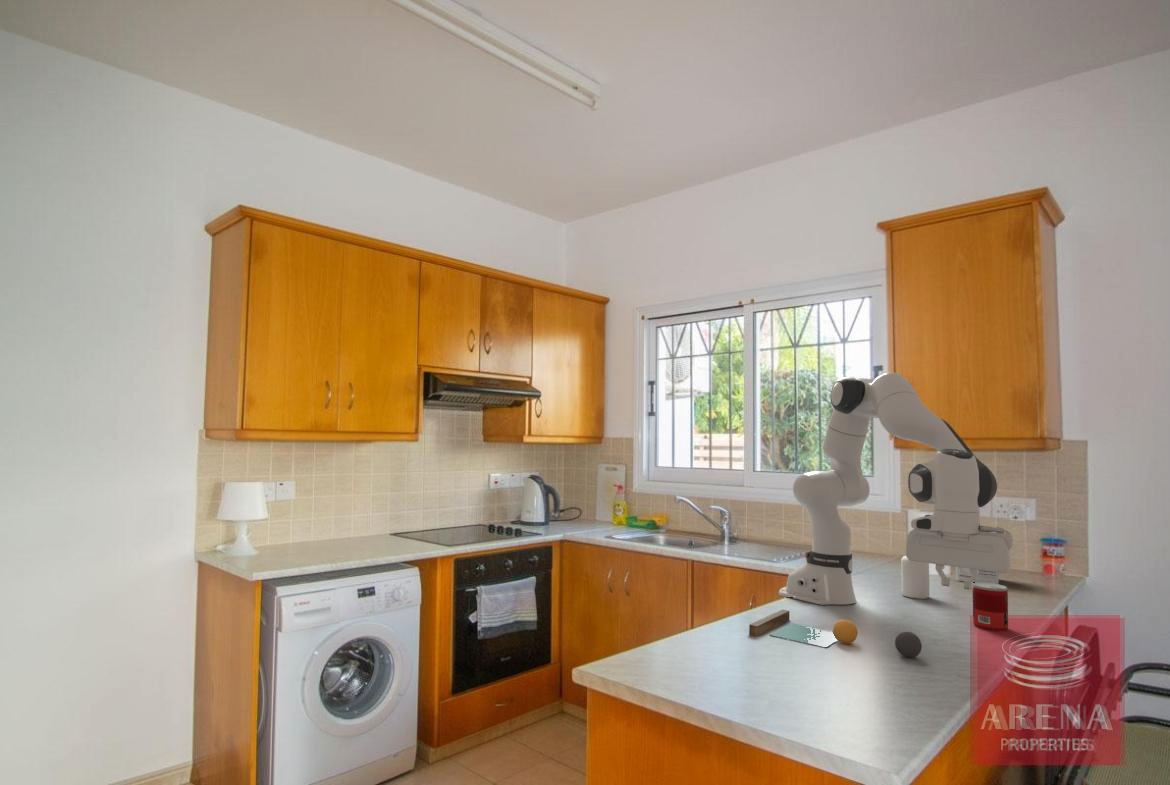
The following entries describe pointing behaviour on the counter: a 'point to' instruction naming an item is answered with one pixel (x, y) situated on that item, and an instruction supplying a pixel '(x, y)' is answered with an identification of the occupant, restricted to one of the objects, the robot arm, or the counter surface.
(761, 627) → the bar
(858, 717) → the counter surface
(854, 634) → the orange ball
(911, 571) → the pill bottle
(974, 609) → the canned food
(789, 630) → the teal mark
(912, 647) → the dark grey ball
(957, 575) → the supplement box
